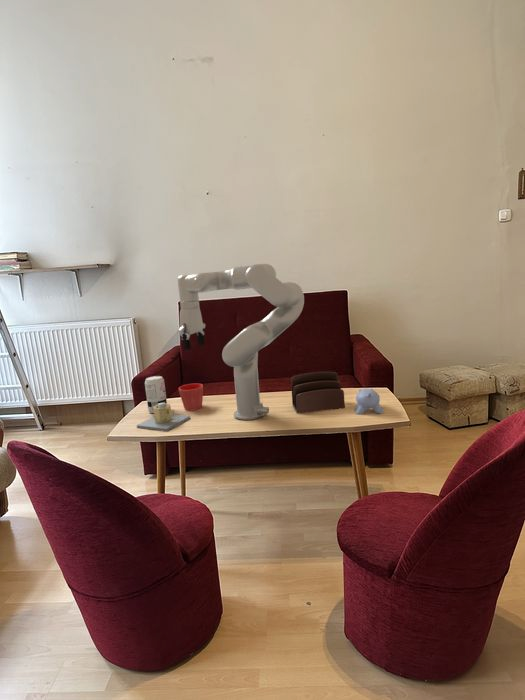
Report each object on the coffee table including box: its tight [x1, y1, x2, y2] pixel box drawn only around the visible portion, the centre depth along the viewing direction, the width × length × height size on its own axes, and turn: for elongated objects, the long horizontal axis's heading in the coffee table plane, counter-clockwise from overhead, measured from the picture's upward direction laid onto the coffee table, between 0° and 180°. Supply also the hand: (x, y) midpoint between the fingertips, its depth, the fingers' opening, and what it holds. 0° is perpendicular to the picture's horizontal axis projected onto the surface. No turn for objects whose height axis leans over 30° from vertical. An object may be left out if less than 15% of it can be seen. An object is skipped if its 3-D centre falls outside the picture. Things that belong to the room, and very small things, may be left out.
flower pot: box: [178, 383, 204, 411], centre depth 198 cm, size 11×11×10 cm
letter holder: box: [290, 371, 346, 414], centre depth 184 cm, size 10×20×14 cm, turn 96°
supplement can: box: [144, 375, 168, 414], centre depth 196 cm, size 8×8×15 cm
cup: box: [153, 403, 175, 424], centre depth 180 cm, size 9×7×6 cm
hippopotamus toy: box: [353, 388, 385, 415], centre depth 176 cm, size 11×15×10 cm
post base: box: [136, 403, 191, 432], centre depth 181 cm, size 15×15×8 cm
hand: (194, 347), depth 186 cm, fingers open, 9 cm apart
